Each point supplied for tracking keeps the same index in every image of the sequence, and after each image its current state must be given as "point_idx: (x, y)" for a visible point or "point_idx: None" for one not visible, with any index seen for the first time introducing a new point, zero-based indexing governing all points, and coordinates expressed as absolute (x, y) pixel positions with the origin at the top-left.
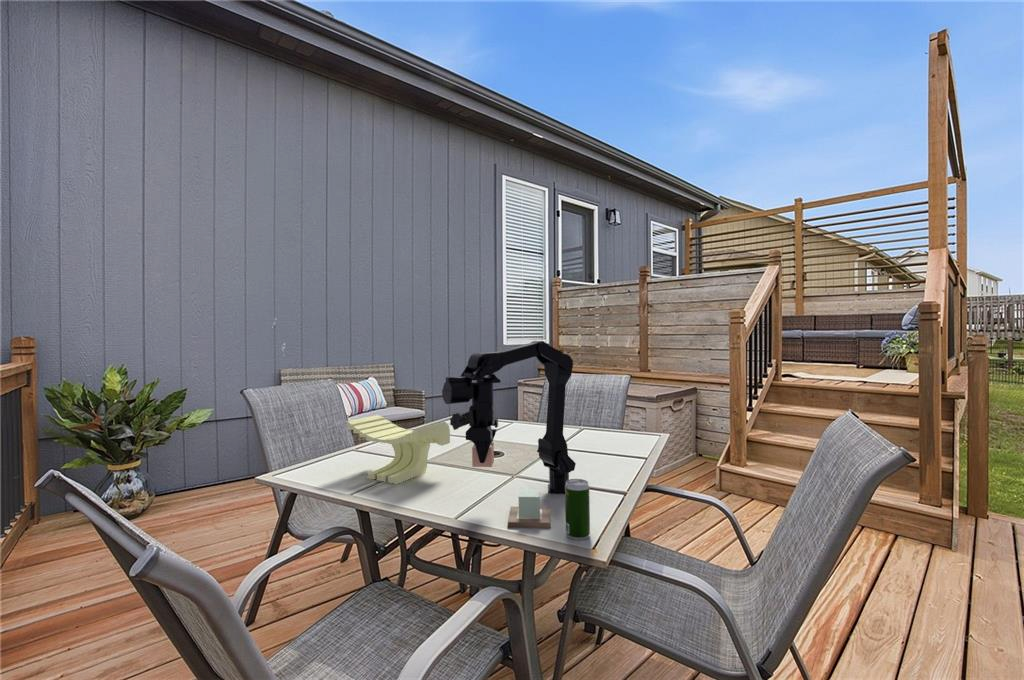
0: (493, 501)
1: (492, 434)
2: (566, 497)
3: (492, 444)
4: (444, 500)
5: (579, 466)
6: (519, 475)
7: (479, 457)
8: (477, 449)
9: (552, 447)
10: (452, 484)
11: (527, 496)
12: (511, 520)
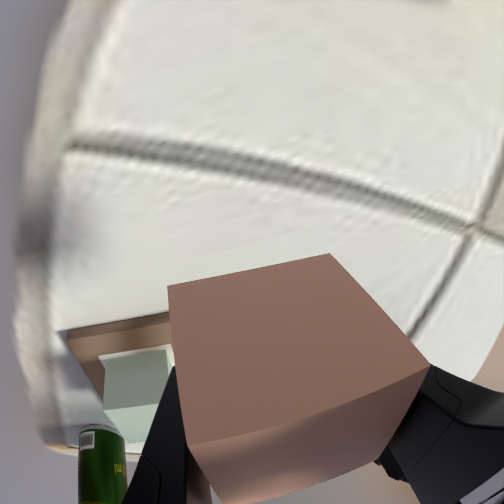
0: (275, 227)
1: (424, 496)
2: (83, 495)
3: (330, 478)
4: (268, 25)
5: (474, 336)
6: (473, 240)
7: (160, 407)
8: (138, 477)
9: (385, 470)
10: (431, 41)
11: (117, 425)
12: (81, 346)
